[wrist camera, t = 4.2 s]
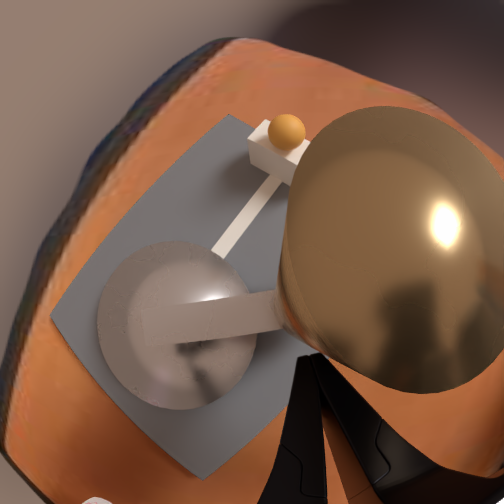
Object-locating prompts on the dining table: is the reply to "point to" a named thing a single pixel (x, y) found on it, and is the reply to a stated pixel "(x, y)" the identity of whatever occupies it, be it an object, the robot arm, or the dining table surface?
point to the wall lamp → (333, 272)
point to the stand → (226, 246)
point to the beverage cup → (96, 501)
